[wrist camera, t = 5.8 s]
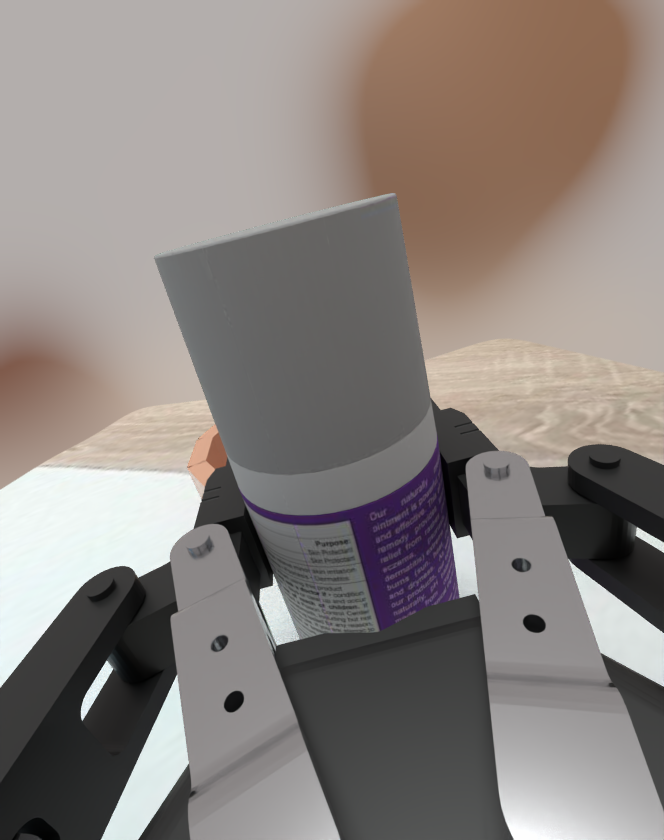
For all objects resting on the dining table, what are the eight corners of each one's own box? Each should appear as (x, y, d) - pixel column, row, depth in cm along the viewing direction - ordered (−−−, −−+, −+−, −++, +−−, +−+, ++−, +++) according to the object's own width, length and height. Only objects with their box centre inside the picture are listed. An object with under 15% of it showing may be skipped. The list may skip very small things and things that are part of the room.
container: (436, 619, 17) (361, 199, 10) (504, 749, 13) (453, 179, 6) (322, 660, 16) (165, 250, 10) (353, 809, 12) (116, 268, 6)
